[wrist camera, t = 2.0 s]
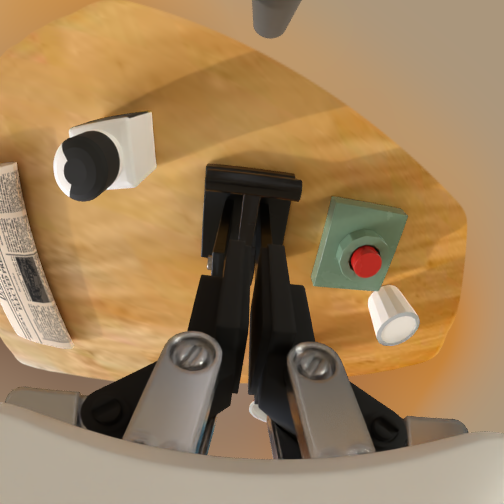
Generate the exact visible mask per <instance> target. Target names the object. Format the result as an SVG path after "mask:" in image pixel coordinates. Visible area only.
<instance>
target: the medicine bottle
mask: <svg viewBox="0 0 504 504" xmlns="http://www.w3.org/2000/svg"><path fill="white" fill-rule="evenodd" d="M69 136H70V138H68V139H67V140H65V141H64V142H63V143H62V144H61V145H60V146H59V148H58V149H57V152H56V154H55V157H54V165H53V167H54V176H55V179H56V182H57V184H58V186H59V187H60V189H61V190H62V191H63V192H64V193H65V194H66V195H67V196H69V197H70V198H72V199H74V200H77V201H90V200H93V199H94V198H96V197H97V196H99V195H100V194H101V193H102V192H104V191H105V190H110V189H123V188H135V187H136V186H138V185H139V184H140V183H141V182H142V181H143V180H144V179H145V178H146V177H147V176H148V175H149V174H150V173H152V172H153V171H154V170H155V169H156V166H157V165H156V156H155V146H154V135H153V122H152V112H151V111H142V112H135V113H129V114H122V115H116V116H111V117H105V118H100V119H97V120H93V121H90V122H87V123H84V124H81V125H78V126H75V127H72V128H70V130H69Z"/></svg>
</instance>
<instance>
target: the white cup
mask: <svg viewBox="0 0 504 504" xmlns="http://www.w3.org/2000/svg"><path fill="white" fill-rule="evenodd" d="M368 307H369V311H370V315H371V318H372V322H373V326H374V330H375V334H376V338H377V340H378V342H379V343H380V344H382V345H384V346H393V345H397V344H400V343H402V342H404V341H406V340H408V339H409V338H410V337H411V336H412V335H414V333H415V332H416V330H417V329H418V327H419V323H420V321H419V317H418V315H417V314H416V312H415V311H414V309H413V308H412V307H411V305H410V304H409V303H408V301H407V300H406V298H405V297H404V296H403V294H402V293H401V292H400V290H399V289H398V288H397V287H395V286H393V285H386V286H382V287H380V290H379V291H374V292H373V293H372V294H371V296H370V297H369V299H368Z"/></svg>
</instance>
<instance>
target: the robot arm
mask: <svg viewBox="0 0 504 504" xmlns="http://www.w3.org/2000/svg"><path fill="white" fill-rule="evenodd" d="M250 269H251V246H247V245H245V241H240V240H231V239H229V243H228V249H227V256H226V262H225V268H224V275H223V277H217V276H208V275H201V278H200V282H199V286H198V290H197V294H196V298H195V302H194V306H193V310H192V314H191V318H190V323H189V327H188V331H187V332H182V333H179V334H176V335H174V336H173V337H172V338H170V339H169V340H168V342H167V343H166V344H165V346H164V348H163V350H162V352H161V354H160V357H159V359H158V361H156V362H154V363H152V364H150V365H148V366H146V367H144V368H142V369H140V370H138V371H136V372H134V373H132V374H130V375H128V376H126V377H124V378H122V379H120V380H118V381H115V382H114V383H111V384H109V385H107V386H105V387H103V388H101V389H99V390H96V391H95V392H93V393H92V394H90V395H89V396H84V395H81V394H80V392H72V391H59V390H48V389H39V388H31V387H18V388H16V389H14V390H12V391H11V392H10V393H9V394H8V396H7V398H6V401H5V403H2V402H0V504H504V434H503V433H498V432H486V431H484V432H483V431H482V432H472V433H468V430H467V428H466V427H465V425H464V424H463V423H462V422H460V421H459V420H455V419H440V418H425V417H414V416H407V417H405V418H404V419H402V418H401V417H399V416H398V415H397V414H396V413H395V412H394V411H392V410H391V409H389V408H387V407H386V406H385V405H383V404H382V403H380V402H379V401H377V400H376V399H374V398H373V397H371V396H370V395H368V394H367V393H366V392H364V391H363V390H361V389H360V388H358V387H357V386H356V385H354V384H353V383H351V382H350V381H349V379H348V376H347V374H346V371H345V369H344V366H343V364H342V361H341V359H340V358H339V356H338V354H337V353H336V352H335V351H334V350H333V349H332V348H330V347H328V346H326V345H325V344H322V343H318V342H315V338H314V333H313V328H312V322H311V317H310V312H309V307H308V302H307V297H306V292H305V288H304V286H303V285H293V284H290V281H289V274H288V267H287V261H286V254H285V248H284V245H276V244H267V248H265V247H261V249H260V255H259V261H258V267H257V273H256V280H255V286H254V292H253V298H252V304H251V312H250V340H249V379H248V394H249V395H254V398H255V399H254V404H258V408H259V409H260V410H262V411H263V412H264V413H265V414H266V415H267V426H268V432H269V437H270V443H271V448H272V454H273V459H245V458H230V457H219V456H209V455H207V454H208V450H209V447H210V442H211V439H212V435H213V432H214V427H215V424H216V420H217V414H218V413H220V412H221V411H223V410H224V409H226V408H227V407H229V406H230V404H231V397H232V393H236V394H237V393H238V389H239V383H240V377H241V371H242V365H243V360H244V354H245V348H246V342H247V336H248V327H249V303H250Z"/></svg>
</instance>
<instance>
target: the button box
mask: <svg viewBox="0 0 504 504" xmlns="http://www.w3.org/2000/svg"><path fill="white" fill-rule="evenodd" d="M407 218H408V215H407V214H406V213H405V212H404V211H403V210H402V209H400V208H395V207H390V206H385V205H380V204H375V203H369V202H364V201H359V200H353V199H347V198H341V197H335V196H332V198H331V202H330V206H329V210H328V214H327V218H326V222H325V226H324V230H323V234H322V238H321V242H320V245H319V249H318V253H317V257H316V260H315V264H314V268H313V271H312V275H311V278H312V282H313V286H319V287H330V288H342V289H354V290H367V291H379V290H380V287H381V285H382V283H383V280H384V278H385V276H386V273H387V271H388V268H389V266H390V263H391V261H392V258H393V256H394V253H395V251H396V248H397V245H398V243H399V240H400V237H401V235H402V232H403V229H404V226H405V223H406V220H407ZM362 246H371V247H373V248H375V249H376V251H377V252H378V254H379V256H380V257H381V260H382V265H381V268H380V270H379V271H378V272H377V273H376V274H375V275H373V276H371V277H368V278H362V277H359V276H358V275H357V274H356V273H355V271H354V269H353V267H352V265H351V256H352V254H353V253H354V251H355V250H356V249H358V248H359V247H362Z"/></svg>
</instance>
